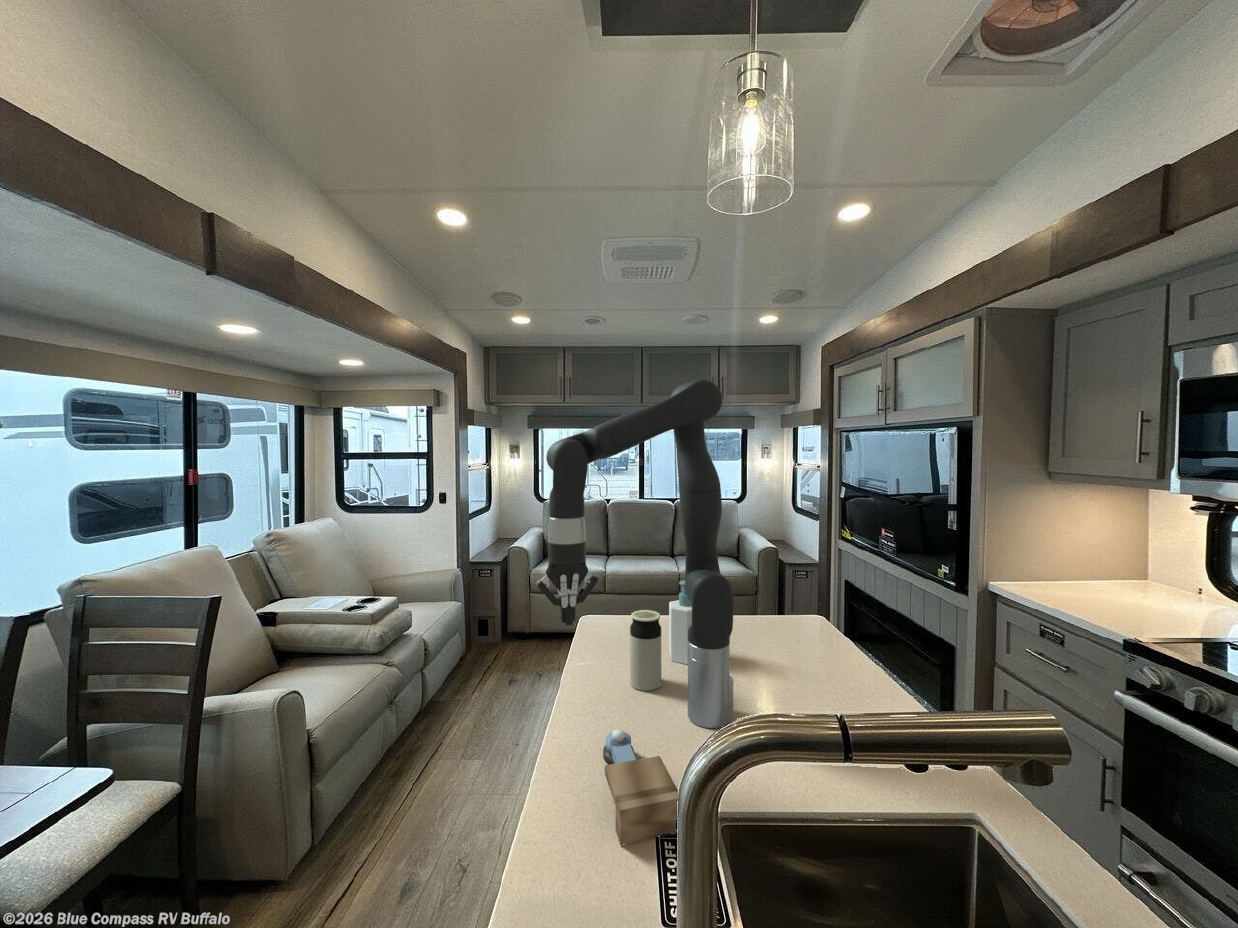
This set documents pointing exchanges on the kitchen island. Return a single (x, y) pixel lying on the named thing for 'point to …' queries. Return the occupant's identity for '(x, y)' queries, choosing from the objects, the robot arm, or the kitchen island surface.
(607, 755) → the pivot boss
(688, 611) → the soap bottle
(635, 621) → the travel mug
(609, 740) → the swing link
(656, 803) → the brown square block
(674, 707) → the kitchen island surface
